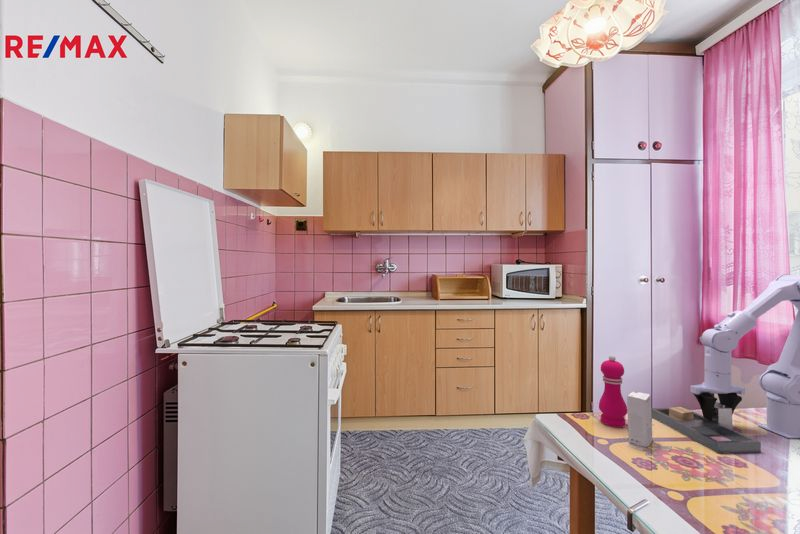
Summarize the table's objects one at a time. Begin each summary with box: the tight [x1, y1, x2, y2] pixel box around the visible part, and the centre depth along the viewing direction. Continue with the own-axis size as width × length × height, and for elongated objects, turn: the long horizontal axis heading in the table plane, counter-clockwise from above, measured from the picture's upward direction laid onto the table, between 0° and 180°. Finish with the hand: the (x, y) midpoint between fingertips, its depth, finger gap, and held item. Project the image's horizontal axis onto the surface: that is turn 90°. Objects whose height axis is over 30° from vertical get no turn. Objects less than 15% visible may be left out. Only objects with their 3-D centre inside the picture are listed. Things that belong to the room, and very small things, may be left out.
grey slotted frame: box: [651, 407, 762, 454], centre depth 97 cm, size 11×22×2 cm, turn 2°
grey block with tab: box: [712, 401, 733, 429], centre depth 100 cm, size 4×4×7 cm
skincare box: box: [626, 391, 653, 448], centre depth 92 cm, size 6×4×12 cm
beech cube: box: [668, 406, 694, 421], centre depth 103 cm, size 4×4×4 cm
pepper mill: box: [598, 354, 628, 428], centre depth 103 cm, size 7×7×20 cm
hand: (717, 418), depth 100 cm, fingers open, 5 cm apart
